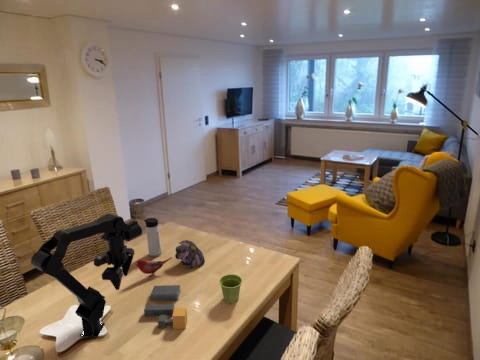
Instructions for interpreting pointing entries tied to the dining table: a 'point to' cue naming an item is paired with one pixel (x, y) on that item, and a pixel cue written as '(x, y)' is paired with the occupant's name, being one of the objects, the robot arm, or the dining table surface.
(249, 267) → the dining table surface
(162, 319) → the plug
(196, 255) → the decorative flower
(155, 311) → the grey rectangular blocks
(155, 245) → the travel mug
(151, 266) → the decorative bird figurine
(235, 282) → the plant pot
